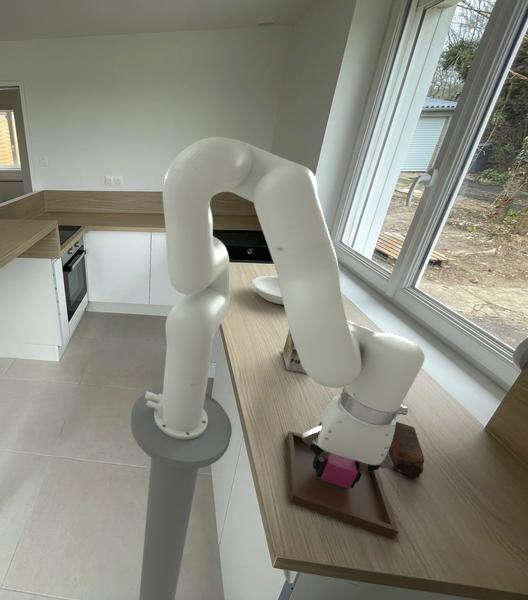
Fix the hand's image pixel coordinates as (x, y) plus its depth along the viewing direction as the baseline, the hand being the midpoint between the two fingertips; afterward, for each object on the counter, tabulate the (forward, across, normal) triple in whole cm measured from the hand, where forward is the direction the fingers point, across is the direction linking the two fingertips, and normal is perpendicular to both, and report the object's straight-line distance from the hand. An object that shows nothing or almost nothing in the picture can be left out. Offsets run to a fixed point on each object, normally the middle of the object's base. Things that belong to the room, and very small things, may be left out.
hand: (333, 475), depth 61 cm
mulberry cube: (0, 0, 0) cm, 0 cm away
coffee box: (+2, +4, -39) cm, 39 cm away
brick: (+2, -15, -12) cm, 19 cm away
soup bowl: (+2, +8, -85) cm, 85 cm away
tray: (+2, 0, 0) cm, 2 cm away
